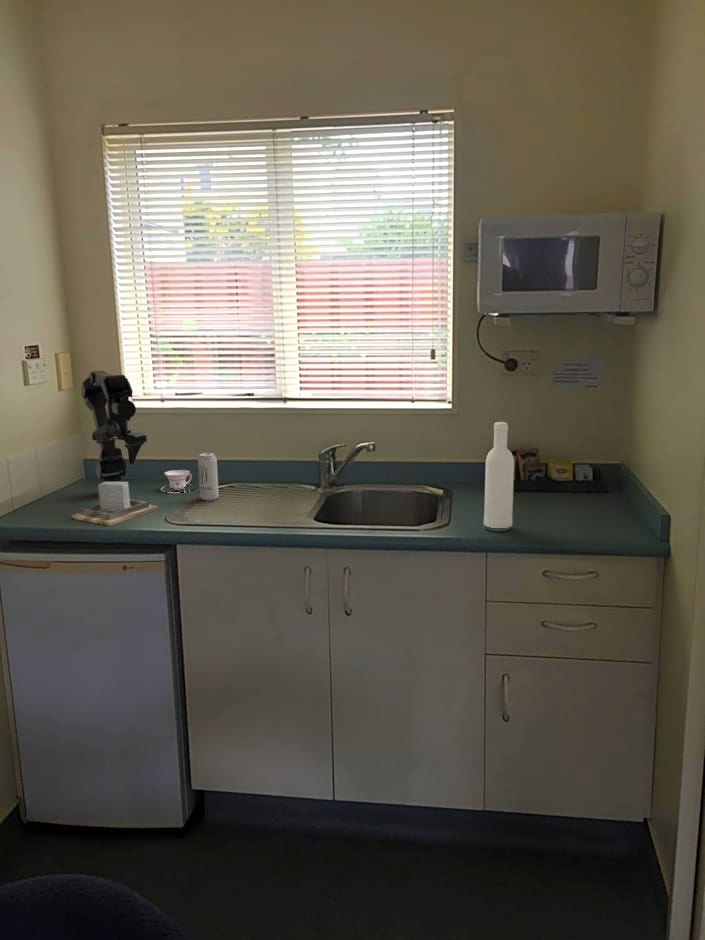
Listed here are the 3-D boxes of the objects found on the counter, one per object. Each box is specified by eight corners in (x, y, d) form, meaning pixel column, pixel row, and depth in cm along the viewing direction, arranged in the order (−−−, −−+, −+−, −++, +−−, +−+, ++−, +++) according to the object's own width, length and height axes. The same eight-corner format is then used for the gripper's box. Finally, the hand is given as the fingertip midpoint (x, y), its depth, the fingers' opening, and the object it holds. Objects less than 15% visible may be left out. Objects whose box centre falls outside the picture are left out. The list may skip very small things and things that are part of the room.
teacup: (160, 495, 258) (158, 477, 257) (160, 486, 270) (159, 469, 268) (196, 492, 261) (195, 475, 259) (195, 484, 272) (194, 467, 271)
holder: (71, 518, 231) (71, 510, 230) (122, 503, 248) (121, 495, 247) (109, 525, 223) (108, 517, 222) (158, 509, 240) (158, 501, 239)
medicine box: (130, 508, 237) (128, 481, 235) (125, 512, 232) (122, 485, 231) (106, 508, 238) (104, 481, 236) (100, 512, 233) (97, 484, 232)
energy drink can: (196, 500, 250) (193, 455, 246) (207, 496, 255) (204, 452, 252) (211, 502, 247) (209, 456, 244) (222, 498, 252) (220, 453, 249)
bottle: (489, 522, 221) (492, 419, 214) (516, 526, 217) (519, 421, 210) (479, 530, 214) (482, 424, 208) (506, 534, 210) (510, 426, 204)
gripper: (76, 416, 240) (81, 465, 243) (119, 420, 231) (123, 471, 234) (104, 411, 249) (108, 458, 253) (146, 415, 240) (149, 464, 244)
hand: (121, 463), depth 246 cm, fingers open, 9 cm apart
